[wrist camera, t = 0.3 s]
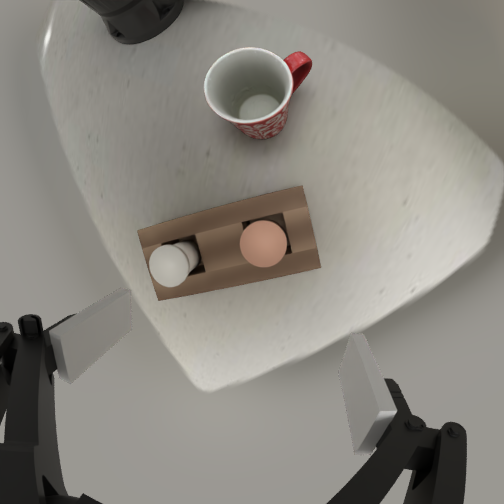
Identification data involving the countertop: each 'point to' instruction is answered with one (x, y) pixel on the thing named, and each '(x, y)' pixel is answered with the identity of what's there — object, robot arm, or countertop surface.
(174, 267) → the cream plug
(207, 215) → the walnut block
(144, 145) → the countertop surface
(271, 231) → the terracotta plug
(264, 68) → the mug
